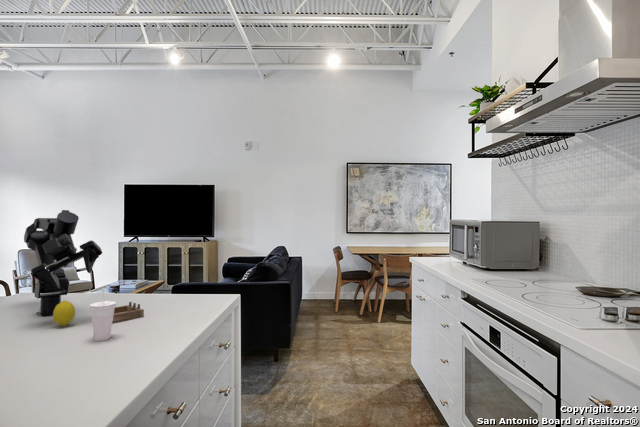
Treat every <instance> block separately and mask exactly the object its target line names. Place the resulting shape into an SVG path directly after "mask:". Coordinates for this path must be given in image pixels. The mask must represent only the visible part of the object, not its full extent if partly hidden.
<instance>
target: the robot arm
mask: <svg viewBox="0 0 640 427" xmlns="http://www.w3.org/2000/svg"><path fill="white" fill-rule="evenodd" d="M79 219H80V218H79V216H78V215H77V214H76V213H73V212H72V211H70V210H68V209H62V210H61V211H60V212H58V214H57V215H56V217H55V218H54V217H37V218H35V219H34V220H33V223H32V224H30V225H29V226H27V227H26V228H25V232H24V236H23V241H24V243H26V246H27V248H28V249H29V250H31V251H33V252H34V254H35V257H36V260H37V264H38V265H37V266H35V267H33V268H31V270H30V274H31V276H32V277H33V278H35V279H36V280H37V282H36V285H35V288H34V290H33V291H34V292H33V293H34V297H35V298H36V299H40V305H39V306H40V310H39V311H37V312H36V313H35V314H36V315H39V316H41V317H47V316H51V315H52V316H53V312H54V309H55V307H56V306H57V305H58V304H59V303H61V302H62V296H67V295H68V293H69V286H70V281H69V279H68V277H66V276H67V275H66V273H65V271H64V268H63V267H65V268H66V267H68V266H69V265H72V264H73V263H75V262H77V261H80V260H81V259H83V262H84V267H85V269H86V271H87V272H86V273H88V274H91V273H92V270H93V267H94V265H95V262H96V261H97V259H98V258H99V256H101V255H102V254H103V251H102V249H101V248H102V247H101V246H99V245H98V244H97V243H96V242H95V241H94V240H88V241H86V242H85V243H82V244H81V245H79V249H80V251H78V249H77V247H75V244H74V240H73V237H72V235H74V234H75V231H76V228H77V225H78V221H79ZM39 229H40V230H39ZM77 251H78V252H77Z"/></svg>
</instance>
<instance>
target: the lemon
mask: <svg viewBox="0 0 640 427" xmlns="http://www.w3.org/2000/svg"><path fill="white" fill-rule="evenodd" d="M75 316H76V308H75V306H74V304H73V303H72V302H70V301H67V300H62V301H61V303H59V304H58V305H57V306H56V307H55V309H54V312H53V315H52V318H53V321H54V322H55V323H56V324H57V325H60V326H62V327H66V326H67V324H70V323H71V322H72V321H73V320H74V318H75Z"/></svg>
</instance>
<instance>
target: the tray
mask: <svg viewBox="0 0 640 427" xmlns="http://www.w3.org/2000/svg"><path fill="white" fill-rule="evenodd" d="M132 302H133V301H128V304H127V305H119V306H116V307H115V309H114V315H113V322H112V324H115V323H116V324H117V323H120V322H125V321H131V320H135V319H139V318H144V317H145V315H144V314H145V313H144V312H145V310H144V308H141V303H139V304H138V303H136V302H133V303H132Z"/></svg>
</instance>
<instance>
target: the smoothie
mask: <svg viewBox="0 0 640 427" xmlns="http://www.w3.org/2000/svg"><path fill="white" fill-rule="evenodd" d="M115 307H117V302H116V301H112V300H105V287H102V288H101V301H98V302H97V301H95V302H94V303H90V304H89V307H88V308H89V310H90V314H91V321H92V322H91V324H92V330H93V339H94V341H96V342H102V341H106V340H109V339H110V338H111V333H112V329H113V328H112V327H113V323H112V322H113V315H114V309H115Z"/></svg>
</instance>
